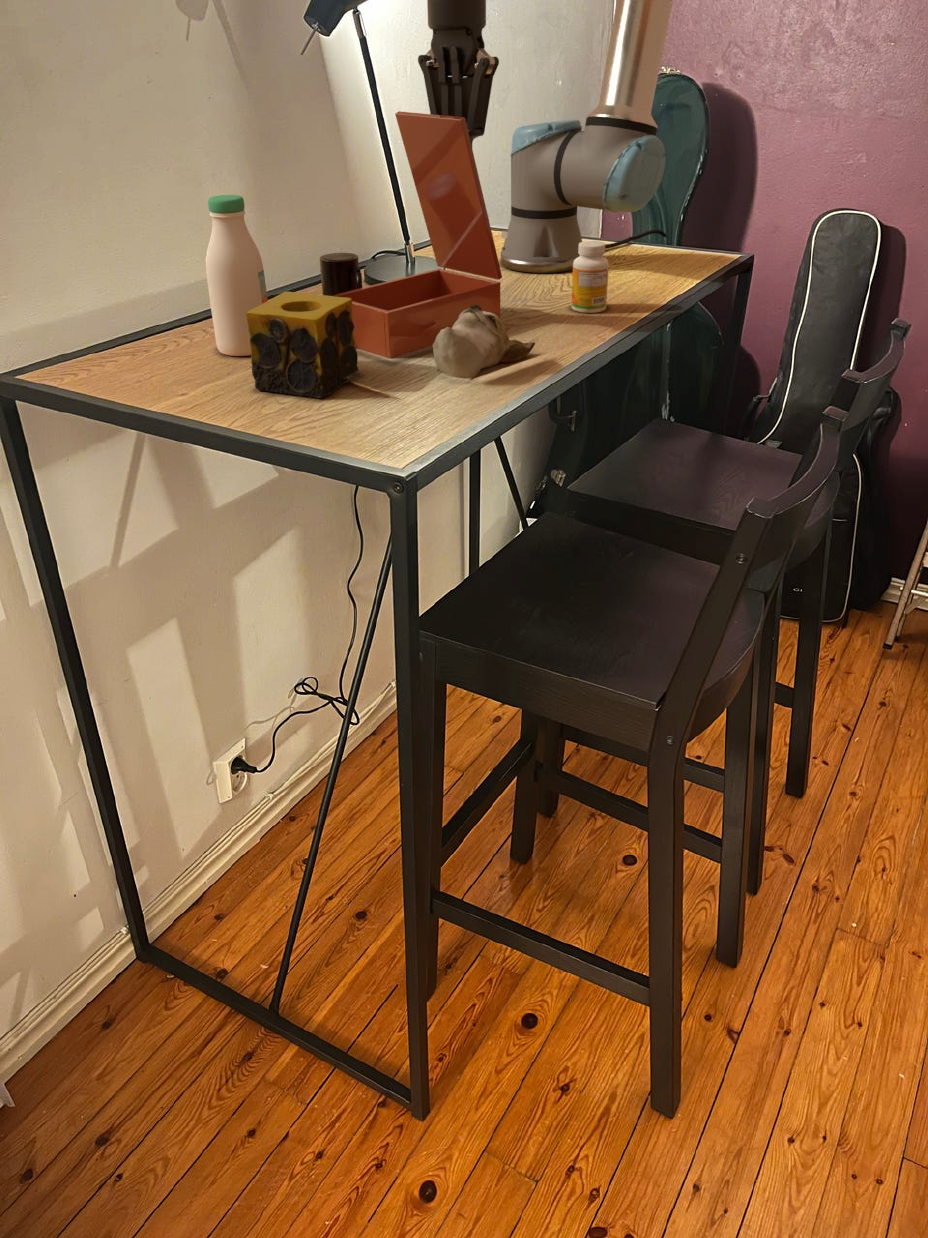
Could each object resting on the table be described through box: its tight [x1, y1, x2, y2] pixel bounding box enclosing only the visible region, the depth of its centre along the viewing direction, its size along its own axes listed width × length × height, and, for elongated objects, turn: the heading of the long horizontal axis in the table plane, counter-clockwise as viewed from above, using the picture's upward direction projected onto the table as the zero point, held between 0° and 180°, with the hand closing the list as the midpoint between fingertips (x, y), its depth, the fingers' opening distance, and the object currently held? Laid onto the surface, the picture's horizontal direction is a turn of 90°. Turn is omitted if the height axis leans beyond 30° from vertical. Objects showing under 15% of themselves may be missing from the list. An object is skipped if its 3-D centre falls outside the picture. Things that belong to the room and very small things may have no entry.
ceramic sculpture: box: [432, 305, 536, 381], centre depth 131 cm, size 11×9×15 cm
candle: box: [246, 291, 359, 399], centre depth 127 cm, size 10×10×10 cm
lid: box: [394, 110, 503, 281], centre depth 141 cm, size 22×13×1 cm
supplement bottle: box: [571, 240, 610, 314], centre depth 155 cm, size 5×5×10 cm
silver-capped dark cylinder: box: [319, 252, 363, 296], centre depth 150 cm, size 8×6×10 cm
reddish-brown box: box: [332, 268, 501, 360], centre depth 144 cm, size 22×13×7 cm, turn 135°
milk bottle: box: [205, 194, 269, 357], centre depth 137 cm, size 8×8×20 cm
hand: (459, 191), depth 142 cm, fingers closed
